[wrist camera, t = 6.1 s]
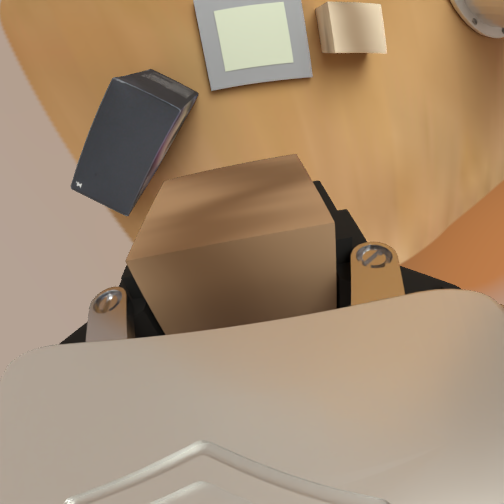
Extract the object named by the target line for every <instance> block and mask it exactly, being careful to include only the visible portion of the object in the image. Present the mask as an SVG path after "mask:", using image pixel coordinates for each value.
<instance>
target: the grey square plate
mask: <svg viewBox="0 0 504 504" xmlns="http://www.w3.org/2000/svg"><path fill="white" fill-rule="evenodd" d="M193 1H194V6H195V11H196V16H197V21H198V26H199V31H200V36H201V41H202V46H203V51H204V56H205V61H206V66H207V71H208V76H209V81H210V86H211V91H213V90H218V89H223V88H229V87H235V86H241V85H247V84H253V83H261V82H268V81H276V80H285V79H295V78H306V77H313V76H312V68H311V60H310V53H309V46H308V40H307V33H306V27H305V21H304V15H303V9H302V3H301V0H193Z"/></svg>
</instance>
